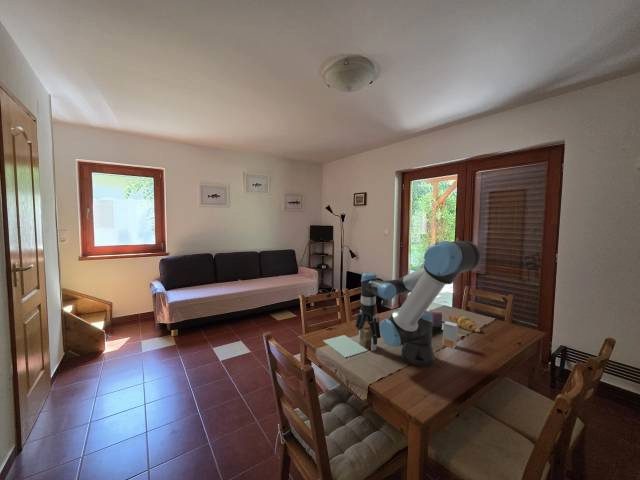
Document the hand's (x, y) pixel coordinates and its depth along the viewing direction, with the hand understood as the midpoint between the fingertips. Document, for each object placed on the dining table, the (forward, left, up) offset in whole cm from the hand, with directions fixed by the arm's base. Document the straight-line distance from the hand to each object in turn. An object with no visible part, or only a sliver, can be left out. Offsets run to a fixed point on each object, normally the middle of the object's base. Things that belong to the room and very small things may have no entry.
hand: (367, 345), depth 139 cm
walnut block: (0, 0, 0) cm, 0 cm away
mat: (+6, +10, 0) cm, 12 cm away
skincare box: (-21, -38, 0) cm, 43 cm away
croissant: (-10, -68, -1) cm, 69 cm away
